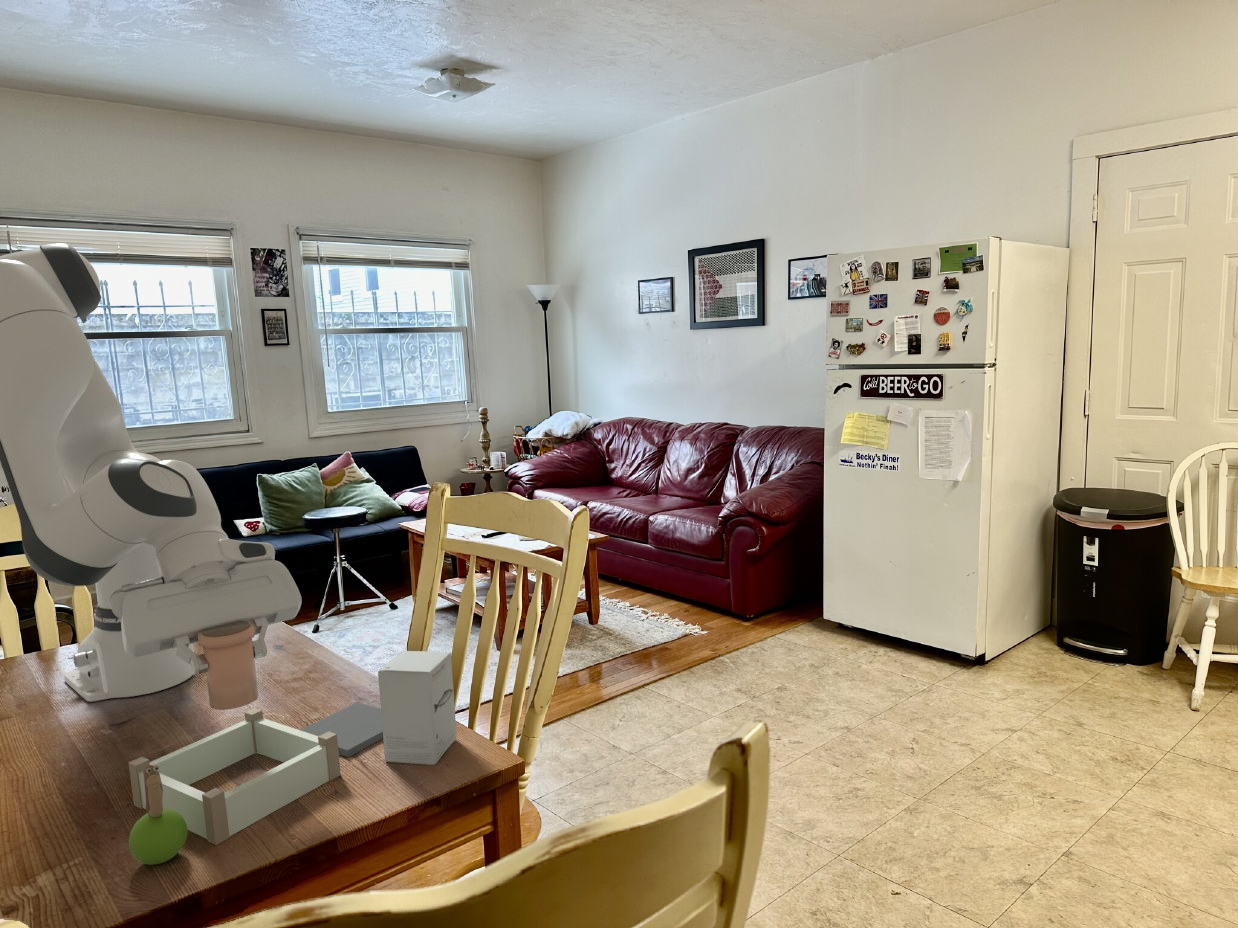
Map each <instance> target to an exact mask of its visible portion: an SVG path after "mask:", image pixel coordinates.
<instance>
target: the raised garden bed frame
mask: <svg viewBox="0 0 1238 928" xmlns="http://www.w3.org/2000/svg"><path fill="white" fill-rule="evenodd" d="M243 714H244V720H242V721H239V722H238V723H236V724H233V725H231V726H229V727H226V728H224V729H222V730H220V731H218V732H217V731H216V732H215V733H213V734H210V735H208V736H206V737H204V738H201V739H200V740H198V741H195V742H193V743H189V744H188V745H186V746H183V747H181V748H179V749H176V750H174V751H172V752H170V753H168V754H165V755H163V756H160V757H159V758H156V759H154V760H151V761H150V759H148V758H146V757H144V756H140V757H138V758H136V759H134V760H131V761H128V769H129V776H130V785H131V786H130V787H131V791H132V799H133V805H134V807H137V808H138V809H141V810H142V809H144V810H146V808H145V806H146V795H145V785H144V776H143V771H144V769H145V768H146V767H147V766H149V765H153V766H156V765H157V766H159V769H158V770H157V771H158V772H159V774H160V778H161V782H162V788H163V809H171V810H174V811H176V812H178V813H179V814H180V815H181V816H182V817H183V818H184V820H185V822H186V825H187V831H189V832H192V833H194V834H196V835H198V836H200V837H202V838H204V839H206V840H207V842H208V843H211V844H213V845H215V846H217V845H220V844H221V843H223V842H224V841H227V840H229V838H230V837H231V836H234V835H235V834H237V833H238V832H240V831H241V830H244V829H246V828H247V827H250V826H252V824H255V823H257V822H258V821H260V820H261V819H263V818H265V817H268V815H270V814H272V813H274V812H276V811H277V810H280V809H282V808H283V807H284V806H286V805H288V804H290V803H292V802H293V801H295V800H297V799H299V798H301V797H302V796H305V795H306V794H308V793H310V792H312V791H313V790H315V789H316V788H318V787H320V786H322V785H324V784H325V783H327V782H331V781H333V780H334V779H336V778H338V777H340V776H341V774H342V773H341V766H340V764H341V763H340V754H339V752H338V741H337V734H335V733H332V732H329V731H328V732H326V733H324V734H322V735H320V736H316V735H313V734H310V733H306V732H303V731H300V730H301V729H297V728H294V727H290V726H288V725H285V724H282V723H279V722H276V721H273V720H269V719H268V718H267V719H266V718H264V715H263V709H259V708H257V707H254V708H251V709H249V710H247V711H245V712H244V713H243ZM255 754H260V755H263V756H265V757H268V758H270V759H273V760H276V761H279V762H281V764H278V765H276V766H275V767H273V768H271V769H270V770H268V771H265V772H263V773H262V774H261V773H260V774H259V775H257V776H256V777H253V778H252V779H249V780H248V781H246V782H244V783H242V784H239V785H237V786H235V787H234V788H232V789H230V790H228V791H226V792H225V791H223V790H221V789H219V788H217V787H214V788H212V789H211V790H208V791H206V792H204V791H202V790H199V789H197V788H196V787H193V786H191V785H192V784H194V783H196V782H198V781H200V780H202V779H204V778H206V777H209V776H210V775H212V774H214V773H217V772H219V771H221V770H224V769H225V768H227V767H229V766H232V765H233V764H235V763H238V762H240V761H241V760H244V759H246V758H247V757H249V756H252V755H255Z"/></svg>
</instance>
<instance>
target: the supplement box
mask: <svg viewBox="0 0 1238 928" xmlns="http://www.w3.org/2000/svg"><path fill="white" fill-rule="evenodd" d="M452 662H453V661H452V652H450V651H426V650H425V651H423V650H420V651H419V650H417V651H416V650H403V651H401V652H400V653H398V654H397V655H396V656H395V657H394V658H392V659H391V660H390V661H389V662H387V663H386V664H385V665H384V666H383V667H381V668H380V669H378V670H377V676H378V687H379V688H378V689H379V701H380V703H379V704H380V709H381V716H382V728H383V739H382V740H383V752H384V761H385V762H388V763H399V764H400V763H401V764H413V765H417V764H418V765H429V766H431V765H432V766H433V765H434V766H435V765H437V763H438V762H439V760H440V759H441V757H443V755H444V754H445V752H446V751H447V750H448V749H449V748H450V747H451V746H452V745H453V743H454V742H455V741H456V740H457V738H458V737H457V723H456V707H455V692H454V691H455V690H454V680H453V679H454V678H453V663H452Z"/></svg>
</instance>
